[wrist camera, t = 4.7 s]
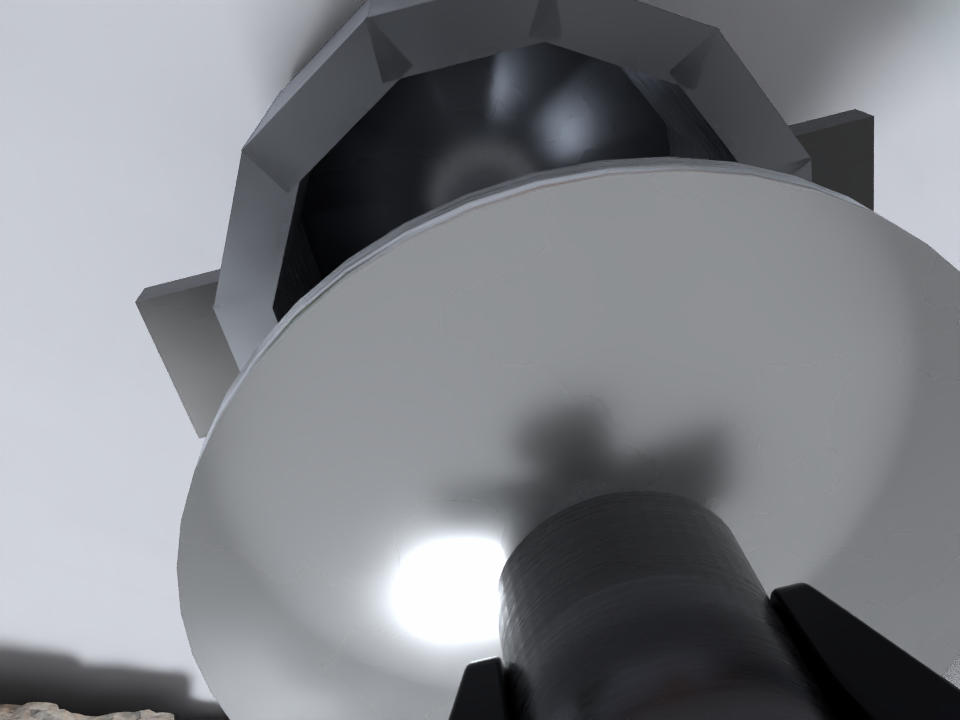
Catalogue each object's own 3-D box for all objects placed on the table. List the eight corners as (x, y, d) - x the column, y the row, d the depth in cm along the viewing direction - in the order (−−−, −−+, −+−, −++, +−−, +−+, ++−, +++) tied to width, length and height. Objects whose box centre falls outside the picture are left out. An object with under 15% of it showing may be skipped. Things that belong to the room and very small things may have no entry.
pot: (756, -106, 18) (910, -123, 13) (781, 332, 23) (898, 451, 18) (121, 56, 18) (13, 107, 13) (286, 455, 23) (257, 608, 18)
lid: (1112, 383, 12) (1719, 777, 6) (653, 815, 16) (793, 1285, 10) (472, -71, 8) (646, -35, 3) (82, 636, 12) (-157, 1216, 7)
